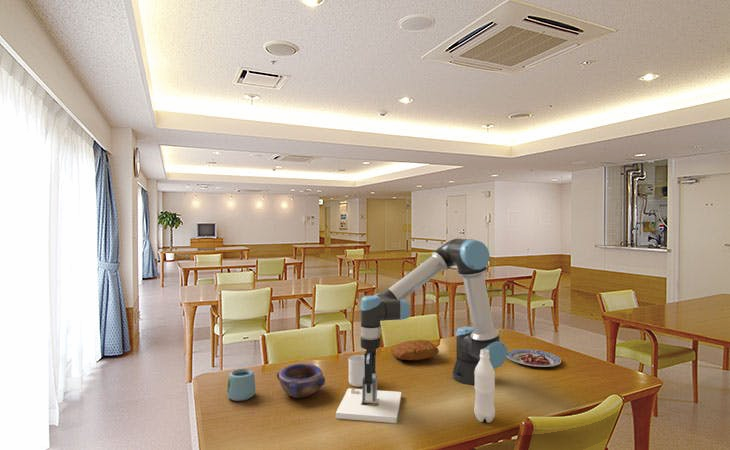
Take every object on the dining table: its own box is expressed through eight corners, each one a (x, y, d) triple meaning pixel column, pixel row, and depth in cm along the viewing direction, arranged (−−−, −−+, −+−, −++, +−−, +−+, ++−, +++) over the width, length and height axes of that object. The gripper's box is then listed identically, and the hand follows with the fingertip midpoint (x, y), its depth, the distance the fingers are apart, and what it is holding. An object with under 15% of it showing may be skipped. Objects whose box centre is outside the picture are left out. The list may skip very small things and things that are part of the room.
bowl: (286, 407, 158) (286, 381, 158) (273, 390, 174) (273, 366, 174) (329, 398, 166) (329, 373, 166) (313, 382, 182) (313, 359, 182)
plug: (377, 395, 160) (377, 373, 160) (375, 401, 155) (375, 378, 155) (364, 394, 161) (364, 372, 161) (362, 400, 156) (362, 377, 156)
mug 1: (225, 390, 174) (225, 366, 173) (252, 386, 178) (252, 363, 178) (228, 404, 160) (228, 379, 160) (257, 400, 164) (257, 375, 164)
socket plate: (401, 396, 167) (401, 389, 167) (396, 423, 145) (396, 414, 145) (348, 393, 171) (348, 385, 171) (335, 418, 149) (335, 409, 149)
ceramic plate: (564, 358, 214) (564, 353, 214) (557, 374, 192) (557, 368, 192) (512, 350, 228) (512, 344, 228) (500, 364, 206) (500, 358, 206)
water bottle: (471, 415, 151) (471, 347, 151) (490, 414, 152) (490, 347, 152) (478, 424, 144) (478, 353, 144) (498, 424, 145) (498, 353, 144)
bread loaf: (427, 352, 224) (427, 337, 224) (440, 362, 207) (440, 346, 207) (388, 355, 219) (388, 340, 218) (399, 366, 202) (399, 350, 202)
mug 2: (370, 387, 177) (370, 361, 177) (350, 388, 175) (350, 362, 175) (365, 376, 189) (365, 352, 189) (346, 377, 187) (346, 353, 187)
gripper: (364, 330, 167) (364, 387, 167) (356, 343, 149) (356, 407, 150) (383, 331, 166) (382, 388, 166) (376, 344, 148) (376, 408, 148)
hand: (370, 397), depth 158 cm, fingers closed on plug, 5 cm apart
